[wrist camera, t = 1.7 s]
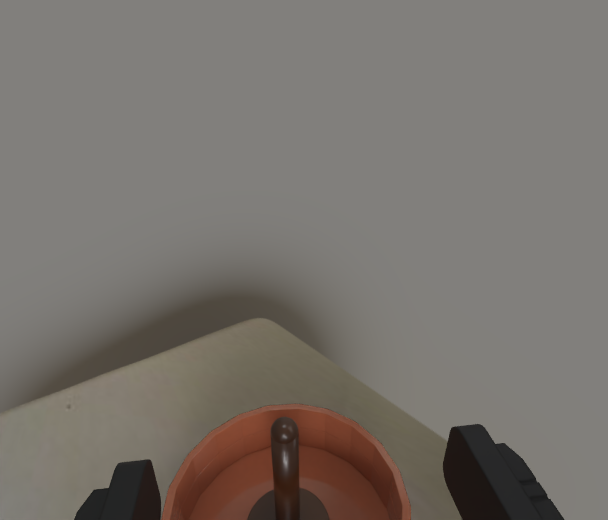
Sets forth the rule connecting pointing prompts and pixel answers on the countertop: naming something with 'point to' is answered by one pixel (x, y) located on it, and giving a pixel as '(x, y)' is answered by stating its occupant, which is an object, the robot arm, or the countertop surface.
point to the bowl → (312, 468)
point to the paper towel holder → (287, 481)
